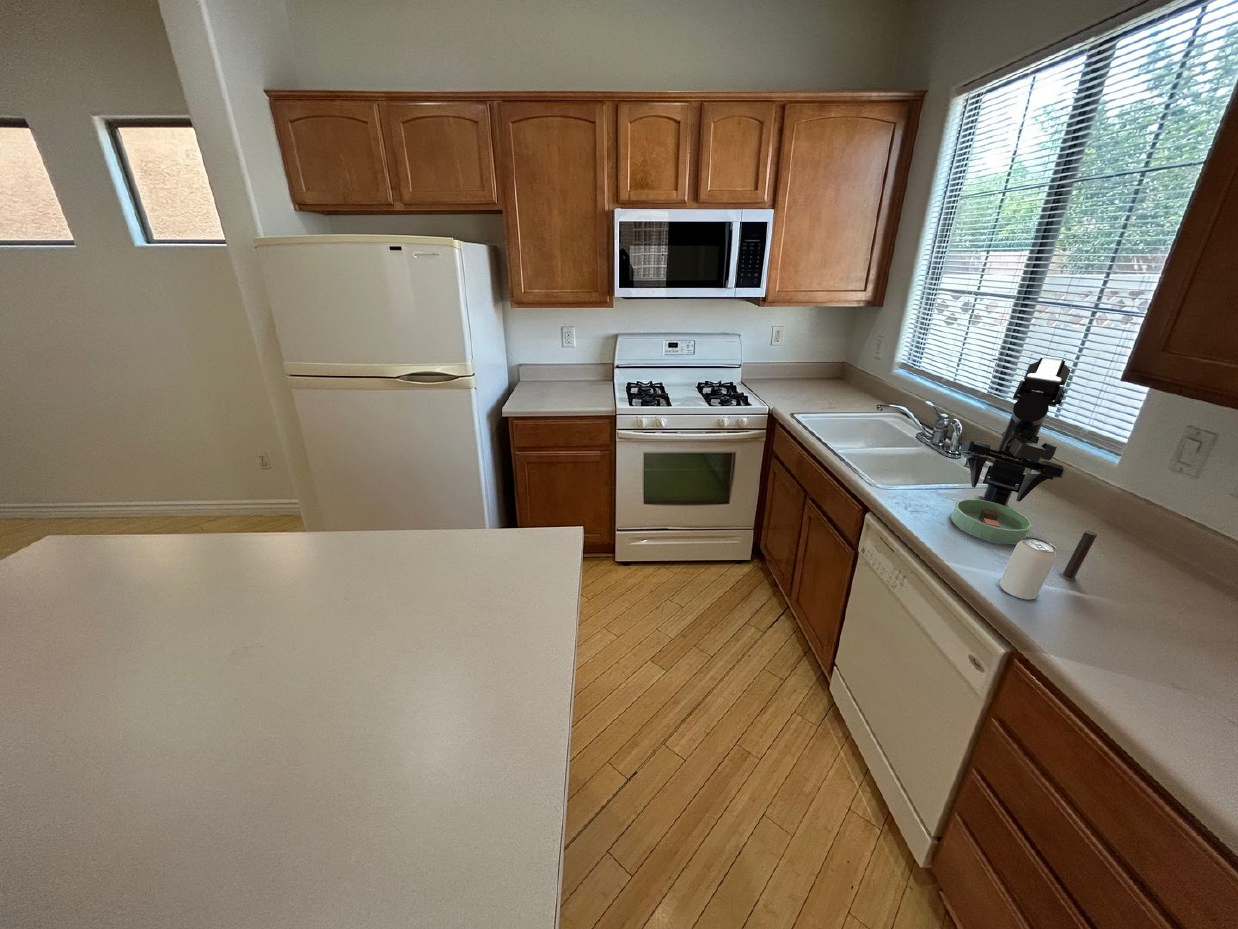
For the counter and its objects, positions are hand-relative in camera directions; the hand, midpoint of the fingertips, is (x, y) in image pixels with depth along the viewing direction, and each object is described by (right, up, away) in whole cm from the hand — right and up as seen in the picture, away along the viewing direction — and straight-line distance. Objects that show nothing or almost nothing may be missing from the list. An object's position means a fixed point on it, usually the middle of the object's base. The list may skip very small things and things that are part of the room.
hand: (995, 494), depth 110 cm
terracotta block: (+8, -11, +13) cm, 19 cm away
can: (-1, -21, -7) cm, 22 cm away
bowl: (+10, -10, +16) cm, 21 cm away
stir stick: (+14, -19, -3) cm, 24 cm away
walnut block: (+12, -9, +18) cm, 23 cm away
